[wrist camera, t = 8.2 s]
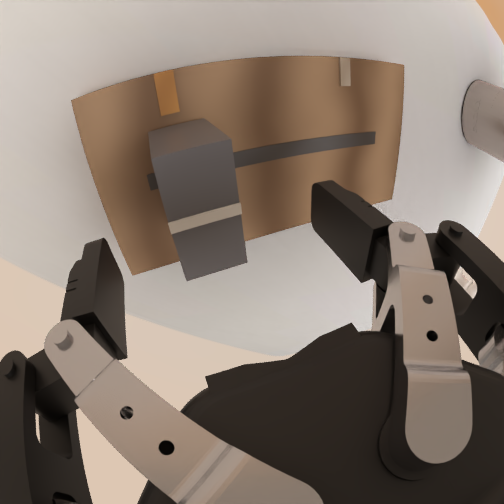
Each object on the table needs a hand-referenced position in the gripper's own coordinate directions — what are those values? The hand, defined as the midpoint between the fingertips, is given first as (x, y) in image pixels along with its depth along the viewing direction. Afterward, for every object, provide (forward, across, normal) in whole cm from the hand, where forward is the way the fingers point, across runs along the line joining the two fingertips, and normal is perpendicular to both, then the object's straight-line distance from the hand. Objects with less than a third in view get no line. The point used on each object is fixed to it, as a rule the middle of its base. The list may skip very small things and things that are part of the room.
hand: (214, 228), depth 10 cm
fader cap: (+6, 0, 0) cm, 6 cm away
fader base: (+9, -6, 0) cm, 11 cm away
